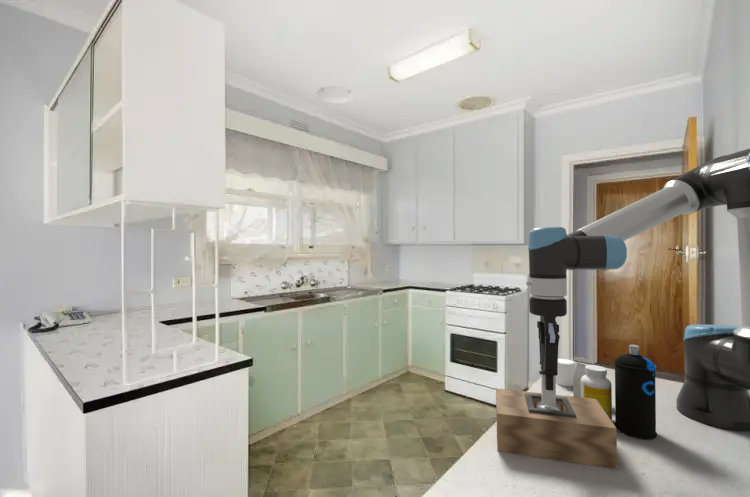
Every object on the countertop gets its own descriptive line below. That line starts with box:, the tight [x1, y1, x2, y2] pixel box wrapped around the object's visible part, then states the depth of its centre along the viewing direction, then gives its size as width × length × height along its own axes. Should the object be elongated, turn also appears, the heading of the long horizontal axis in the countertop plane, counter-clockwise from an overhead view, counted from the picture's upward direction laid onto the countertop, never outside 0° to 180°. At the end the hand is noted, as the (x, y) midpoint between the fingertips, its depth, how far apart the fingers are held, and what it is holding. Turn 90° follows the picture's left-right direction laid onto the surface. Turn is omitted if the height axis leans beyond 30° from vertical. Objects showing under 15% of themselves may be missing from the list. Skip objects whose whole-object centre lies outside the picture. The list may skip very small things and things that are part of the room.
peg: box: [536, 401, 561, 411], centre depth 79 cm, size 5×5×8 cm
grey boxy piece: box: [572, 361, 587, 397], centre depth 100 cm, size 4×7×10 cm, turn 30°
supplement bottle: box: [581, 364, 613, 422], centre depth 90 cm, size 7×7×13 cm
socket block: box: [495, 388, 618, 470], centre depth 79 cm, size 22×14×9 cm, turn 72°
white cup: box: [556, 357, 577, 387], centre depth 113 cm, size 7×7×7 cm
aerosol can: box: [613, 344, 658, 441], centre depth 84 cm, size 8×8×20 cm
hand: (548, 402), depth 79 cm, fingers closed
